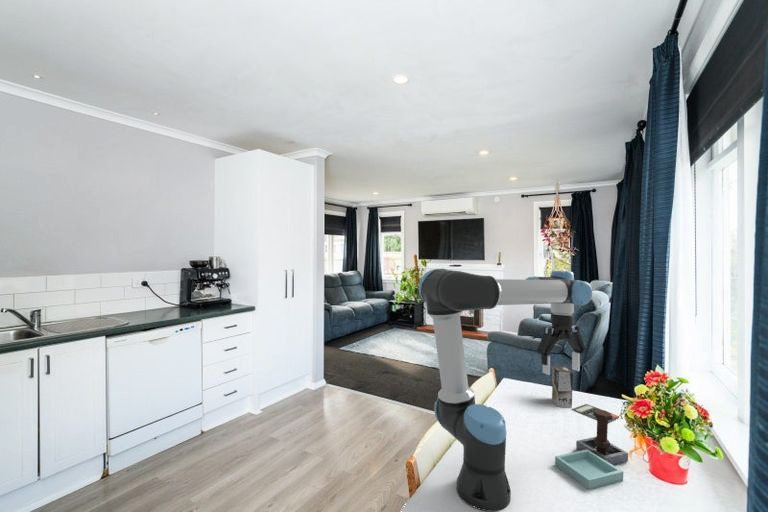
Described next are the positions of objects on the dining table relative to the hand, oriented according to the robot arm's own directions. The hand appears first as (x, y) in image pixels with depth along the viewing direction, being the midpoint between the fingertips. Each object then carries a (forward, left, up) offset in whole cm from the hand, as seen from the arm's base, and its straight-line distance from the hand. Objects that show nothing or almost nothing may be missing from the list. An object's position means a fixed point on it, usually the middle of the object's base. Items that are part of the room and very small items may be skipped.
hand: (561, 372), depth 132 cm
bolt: (+9, -10, -27) cm, 30 cm away
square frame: (+9, -10, -27) cm, 30 cm away
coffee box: (+30, +28, -27) cm, 49 cm away
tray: (-4, -16, -27) cm, 31 cm away
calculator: (+36, +15, -27) cm, 48 cm away
